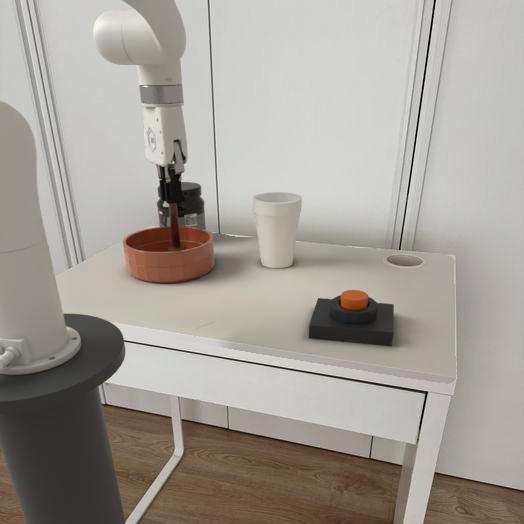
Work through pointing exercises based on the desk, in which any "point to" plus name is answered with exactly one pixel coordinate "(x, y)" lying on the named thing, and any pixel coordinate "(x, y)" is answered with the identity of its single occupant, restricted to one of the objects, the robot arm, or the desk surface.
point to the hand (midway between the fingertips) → (171, 200)
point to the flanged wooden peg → (174, 229)
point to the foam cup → (277, 226)
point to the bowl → (168, 254)
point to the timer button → (354, 299)
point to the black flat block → (352, 322)
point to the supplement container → (185, 207)
